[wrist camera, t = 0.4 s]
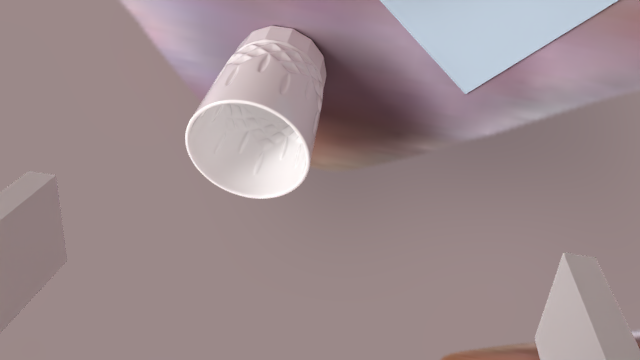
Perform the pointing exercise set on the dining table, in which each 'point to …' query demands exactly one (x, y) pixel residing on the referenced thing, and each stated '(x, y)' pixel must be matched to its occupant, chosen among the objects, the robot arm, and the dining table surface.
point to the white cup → (261, 115)
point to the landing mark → (488, 31)
